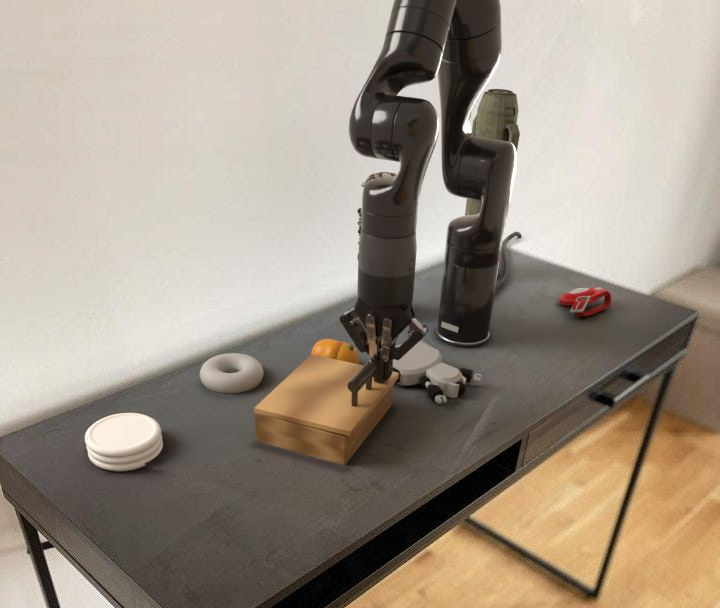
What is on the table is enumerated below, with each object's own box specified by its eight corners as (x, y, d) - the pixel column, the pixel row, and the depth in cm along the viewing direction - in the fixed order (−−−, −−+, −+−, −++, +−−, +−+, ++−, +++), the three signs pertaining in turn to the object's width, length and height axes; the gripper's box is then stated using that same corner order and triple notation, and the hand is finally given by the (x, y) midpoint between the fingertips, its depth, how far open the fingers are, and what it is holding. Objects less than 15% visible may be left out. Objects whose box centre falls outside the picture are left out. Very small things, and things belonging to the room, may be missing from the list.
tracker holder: (550, 291, 151) (598, 278, 151) (553, 313, 153) (600, 299, 153) (572, 302, 140) (624, 288, 140) (575, 325, 142) (627, 311, 142)
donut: (191, 395, 117) (253, 402, 116) (188, 375, 115) (251, 382, 114) (214, 365, 125) (272, 371, 124) (211, 346, 123) (270, 352, 122)
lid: (398, 377, 112) (400, 348, 109) (350, 436, 99) (350, 404, 96) (311, 358, 117) (310, 330, 114) (254, 412, 103) (251, 381, 101)
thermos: (482, 287, 155) (508, 99, 134) (442, 269, 162) (461, 88, 141) (512, 278, 159) (541, 94, 138) (472, 261, 167) (493, 84, 146)
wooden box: (391, 409, 116) (393, 378, 112) (344, 469, 103) (344, 437, 99) (311, 389, 120) (311, 359, 117) (256, 445, 107) (254, 413, 104)
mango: (306, 372, 124) (305, 342, 121) (319, 359, 128) (319, 330, 125) (350, 383, 122) (351, 353, 118) (363, 369, 125) (364, 339, 122)
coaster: (74, 453, 104) (68, 431, 102) (134, 424, 110) (130, 403, 108) (118, 482, 99) (113, 460, 97) (178, 450, 105) (175, 429, 103)
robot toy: (484, 392, 122) (412, 355, 129) (489, 368, 119) (416, 331, 126) (437, 421, 115) (364, 380, 122) (442, 396, 112) (367, 355, 119)
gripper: (443, 263, 100) (432, 378, 110) (352, 246, 104) (349, 359, 114) (424, 282, 94) (414, 402, 105) (328, 264, 98) (328, 381, 109)
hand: (380, 380), depth 110 cm, fingers closed
